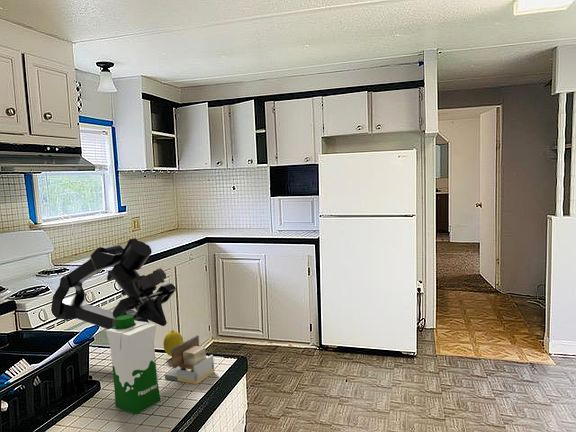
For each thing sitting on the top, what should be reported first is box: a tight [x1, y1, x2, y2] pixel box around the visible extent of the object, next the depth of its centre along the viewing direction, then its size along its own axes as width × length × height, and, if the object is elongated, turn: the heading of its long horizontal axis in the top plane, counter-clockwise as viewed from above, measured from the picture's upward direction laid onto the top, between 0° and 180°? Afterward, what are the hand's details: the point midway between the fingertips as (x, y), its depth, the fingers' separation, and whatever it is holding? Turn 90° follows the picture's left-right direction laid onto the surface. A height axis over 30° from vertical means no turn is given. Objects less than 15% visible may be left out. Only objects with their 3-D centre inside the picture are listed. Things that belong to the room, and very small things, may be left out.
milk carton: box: [105, 314, 162, 416], centre depth 101 cm, size 9×9×20 cm
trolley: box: [171, 335, 207, 372], centre depth 115 cm, size 5×10×8 cm, turn 154°
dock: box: [164, 354, 215, 385], centre depth 115 cm, size 10×7×4 cm
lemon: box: [163, 329, 185, 357], centre depth 128 cm, size 6×6×8 cm
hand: (165, 324), depth 118 cm, fingers closed
